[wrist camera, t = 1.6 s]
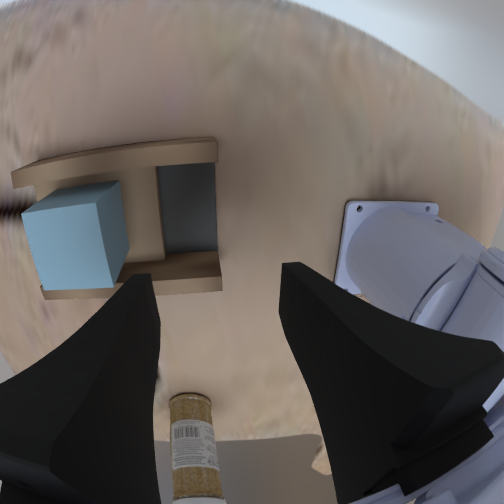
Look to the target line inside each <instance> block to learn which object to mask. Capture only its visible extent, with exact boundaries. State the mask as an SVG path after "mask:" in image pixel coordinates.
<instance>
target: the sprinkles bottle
mask: <svg viewBox="0 0 504 504" xmlns="http://www.w3.org/2000/svg"><path fill="white" fill-rule="evenodd" d="M169 409H170V454H171V462H172V464H171V465H172V476H173V489H174V497H173V500H174V501H173V504H226V501H225V500H224V497H223V495H222V488H221V482H220V476H219V473H220V472H219V465H218V459H217V452H216V444H215V436H214V429H213V425H212V416H211V403H210V401H209V400H208V399H207V398H205V397H203V396H201V395H197V394H183V395H179V396H176V397H174V398H173V399H172V400H171V401H170V402H169Z"/></svg>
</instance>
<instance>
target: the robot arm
mask: <svg viewBox="0 0 504 504" xmlns="http://www.w3.org/2000/svg"><path fill="white" fill-rule="evenodd" d="M358 206H360V209H359V210H357V207H358ZM426 207H427V209H426ZM438 211H439V205H438V204H436V203H434V202H407V201H350V202H348V203H347V205H346V208H345V216H344V223H343V231H342V238H341V244H340V251H339V257H338V263H337V269H336V275H335V281H334V283H333V282H332V281H330V280H328V279H327V278H325V277H324V276H322V275H321V274H319V273H318V272H316V271H314V270H313V269H311V268H310V267H308V266H306V265H305V264H303V263H301V262H291V263H282V272H281V286H280V299H279V315H280V319H281V323H282V327H283V330H284V333H285V337H286V339H287V341H288V344H289V346H290V348H291V350H292V353H293V355H294V357H295V360H296V362H297V364H298V366H299V369H300V371H301V373H302V375H303V378H304V380H305V382H306V384H307V387H308V389H309V392H310V394H311V397H312V400H313V403H314V407H315V410H316V413H317V417H318V420H319V423H320V427H321V431H322V434H323V438H324V442H325V445H326V450H327V454H328V458H329V462H330V466H331V471H332V476H333V480H334V486H335V491H336V497H337V502H338V504H406V503H408V502H410V501H412V500H414V499H415V498H417V497H418V498H417V499H416V500H415V503H414V504H504V252H503V251H501V250H500V249H498V248H496V247H492V248H489V249H488V250H487V249H486V248H485V247H484V245H483V244H481V243H480V242H479V241H477V240H476V239H474V238H473V237H471V236H470V235H468V234H467V233H465V232H463V231H462V230H460V229H459V228H457V227H455V226H454V225H452V224H450V223H449V222H447V221H445V220H444V219H442V218H440V217H439V216H437V215H438ZM344 289H346V290H344ZM360 293H363V295H364V296H365V297H366V298H367V299H368V301H369V302H370V303H371V304H372V305H371V304H369V303H367V302H365V301H364V300H362V299H360V298H358V297H356V296H355V295H354V294H360ZM160 327H161V322H160V317H159V313H158V308H157V303H156V298H155V293H154V288H153V283H152V278H151V273H145V274H133V275H132V276H131V277H130V278H129V279H128V280H127V281H126V282H125V283H124V284H123V285H122V286H121V287H120V288H119V289H118V290H117V291H116V292H115V294H114V295H113V296H112V297H111V298H110V299H109V300H108V301H107V302H106V303H105V304H104V305H103V306H102V307H101V308H100V309H99V310H98V311H97V312H96V313H95V314H94V315H93V316H92V317H91V318H90V319H89V320H88V321H87V322H86V323H85V324H84V325H83V326H82V327H81V328H80V329H79V330H78V331H76V332H75V333H74V334H73V335H72V336H71V337H69V338H68V339H67V340H66V341H65V342H63V343H62V344H61V345H60V346H58V347H57V348H56V349H55V350H53V351H52V352H50V353H49V354H47V355H46V356H45V357H43V358H42V359H40V360H39V361H38V362H36V363H35V364H33V365H32V366H30V367H29V368H27V369H25V370H24V371H22V372H20V373H19V374H17V375H15V376H14V377H12V378H10V379H8V380H7V381H5V382H3V383H1V384H0V480H1V481H2V485H1V491H0V504H161V499H160V494H159V487H158V480H157V472H156V463H155V451H154V434H153V402H154V393H155V384H156V376H157V368H158V360H159V352H160Z"/></svg>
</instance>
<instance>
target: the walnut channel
mask: <svg viewBox="0 0 504 504" xmlns="http://www.w3.org/2000/svg"><path fill="white" fill-rule="evenodd" d="M215 162H218V142H217V140H216V139H215V138H214V137H203V138H186V139H173V140H161V141H151V142H142V143H133V144H126V145H118V146H111V147H105V148H98V149H92V150H86V151H81V152H75V153H70V154H65V155H60V156H56V157H51V158H47V159H42V160H38V161H36V162H33V163H31V164H28V165H26V166H24V167H21V168H19V169H17V170H15V171H12V172H11V177H12V183H13V189H16V188H20V187H24V186H29V185H34V187H35V193H36V199H37V202H38V201H40V200H41V199H43V198H44V197H45V196H47V195H48V194H50V193H51V192H53V191H54V190H56V189H61V188H67V187H73V186H79V185H86V184H93V183H100V182H108V181H116V180H120V188H121V196H122V203H123V211H124V217H125V224H126V230H127V236H128V242H129V247H130V249H129V251H128V254H127V256H126V258H125V261H124V263H123V266H122V268H121V271H120V273H119V276H118V278H117V281H116V283H115V286H114V287H112V288H92V289H68V290H44V289H43V286H42V285H41V286H40V288H41V291H42V293H43V296H44V299H45V300H56V299H91V298H111V297H112V296H113V295H114V294H115V292H116V291H117V290H118V289H119V288H120V287H121V286H122V285H123V284H124V283H125V282H126V281H127V280H128V279H129V278H130V277H131V276H132V275H133V274H145V273H151V278H152V283H153V288H154V293H155V295H170V294H185V293H200V292H213V291H223V290H222V274H221V268H220V262H219V256H218V247H217V223H216V194H215Z"/></svg>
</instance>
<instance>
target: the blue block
mask: <svg viewBox="0 0 504 504" xmlns="http://www.w3.org/2000/svg"><path fill="white" fill-rule="evenodd" d="M21 215H22V219H23V223H24V227H25V231H26V235H27V239H28V242H29V246H30V249H31V253H32V256H33V259H34V263H35V266H36V269H37V272H38V275H39V278H40V280H41V283H42V286H43V289H44V290H68V289H92V288H112V287H114V286H115V283H116V281H117V278H118V276H119V273H120V271H121V268H122V266H123V263H124V261H125V258H126V256H127V254H128V251H129V249H130V247H129V242H128V236H127V230H126V224H125V217H124V211H123V203H122V196H121V188H120V180H116V181H108V182H100V183H93V184H86V185H79V186H73V187H67V188H61V189H56V190H54V191H53V192H51V193H50V194H48V195H47V196H45V197H44V198H43V199H41V200H40V201H38V202H37V203H35V204H34V205H33V206H31V207H30V208H28V209H27V210H26V211H24V212H23V213H22V214H21Z"/></svg>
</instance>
